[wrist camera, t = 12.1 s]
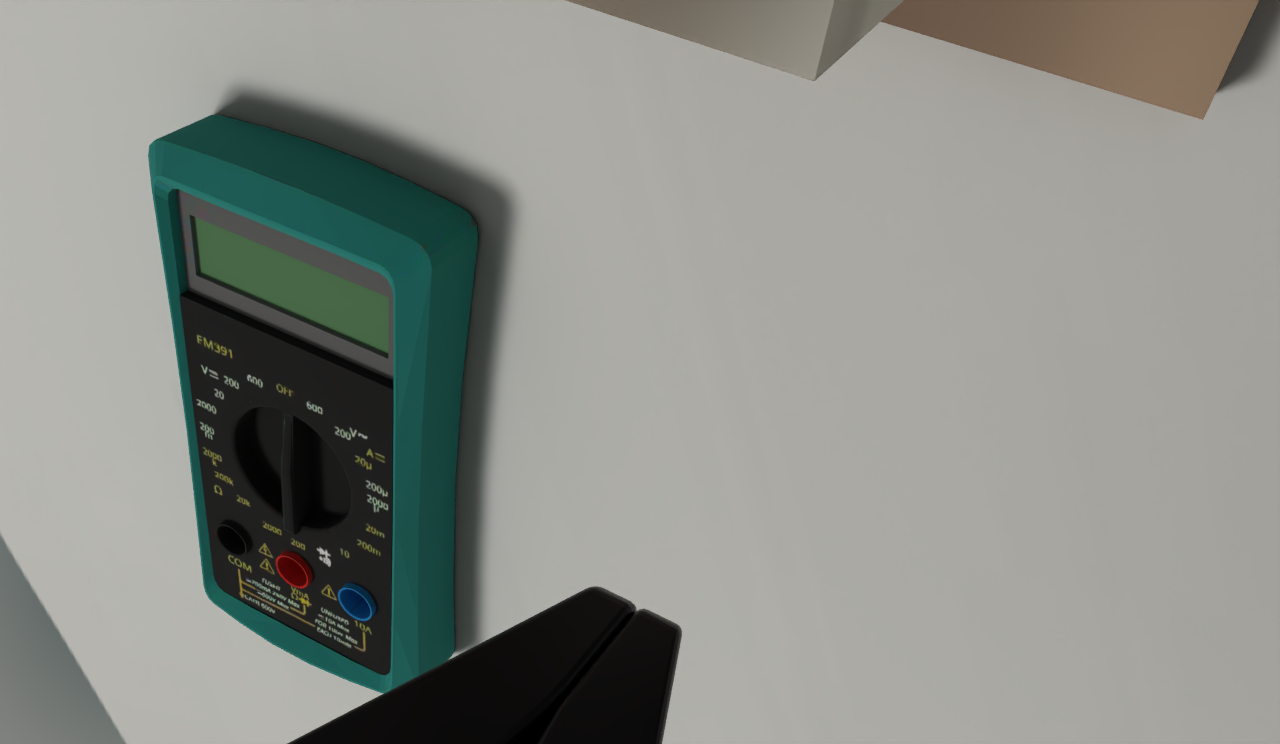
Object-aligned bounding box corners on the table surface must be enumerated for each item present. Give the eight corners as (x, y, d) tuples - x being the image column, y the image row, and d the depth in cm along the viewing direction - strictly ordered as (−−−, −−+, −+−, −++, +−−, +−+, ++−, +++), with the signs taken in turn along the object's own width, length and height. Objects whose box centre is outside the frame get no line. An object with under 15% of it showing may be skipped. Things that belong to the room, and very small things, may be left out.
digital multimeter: (259, 555, 35) (187, 619, 33) (219, 92, 26) (118, 136, 24) (465, 659, 33) (404, 735, 31) (497, 195, 24) (414, 253, 22)
